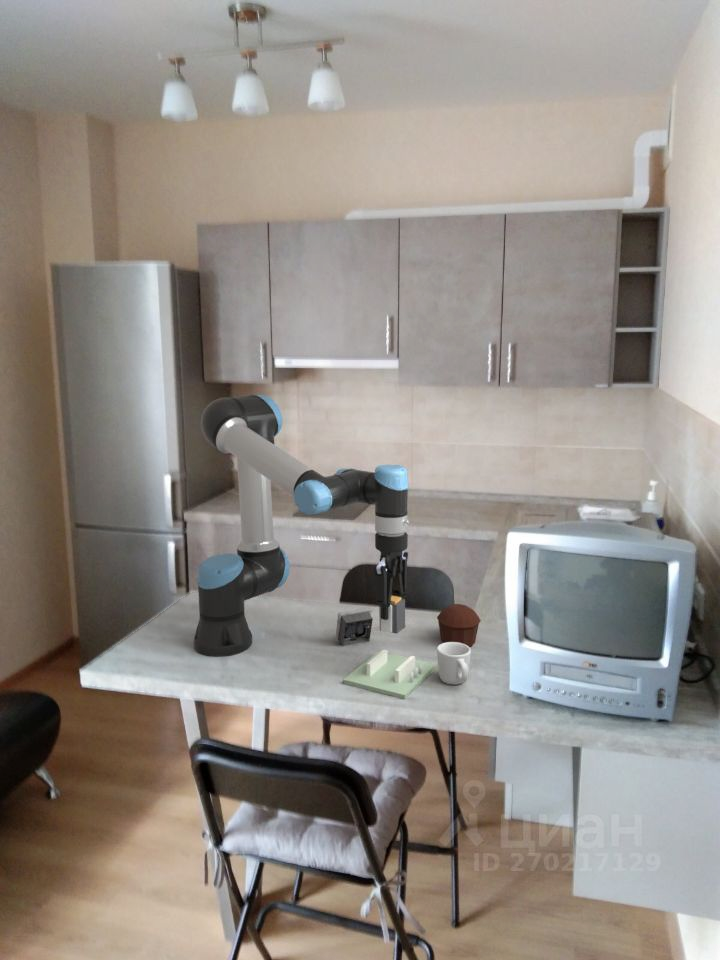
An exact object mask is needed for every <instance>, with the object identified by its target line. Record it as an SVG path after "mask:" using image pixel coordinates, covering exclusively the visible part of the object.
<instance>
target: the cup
mask: <svg viewBox="0 0 720 960" xmlns="http://www.w3.org/2000/svg"><path fill="white" fill-rule="evenodd" d="M436 654H437V656H436V657H437V667H438V669H437V670H438V675H439V679H440V680H441V681H442V682H443V683H445V684H448V685H461V684H463V683H465V682H466V681H467V679H468V677H469V676H468V675H469V668H470V661H471V654H472V649H471V647H469V646H467V645H465V644H462V643H458V642H446V643H440V644H439V645H438V646H437V648H436Z"/></svg>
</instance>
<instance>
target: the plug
mask: <svg viewBox="0 0 720 960" xmlns="http://www.w3.org/2000/svg"><path fill="white" fill-rule="evenodd" d="M390 605H392V632H391V633H392V634H396V635H397V634H399V633H400V632H401V631H403V630H404V629H405V628H406V598H402V599H401V597H397V596H393V595H391V603H390ZM378 606H379V605H378ZM378 611H379V631H380V632H381V606H379V607H378Z"/></svg>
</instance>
